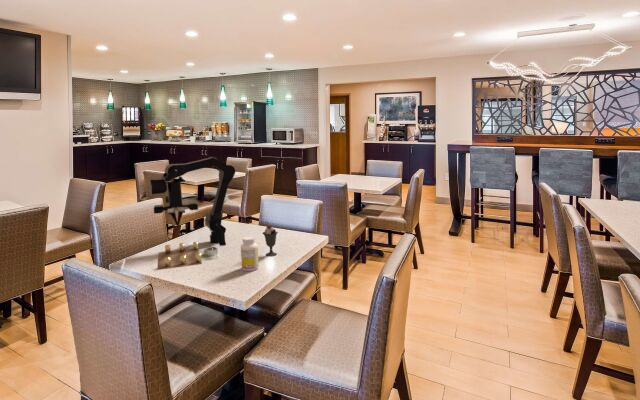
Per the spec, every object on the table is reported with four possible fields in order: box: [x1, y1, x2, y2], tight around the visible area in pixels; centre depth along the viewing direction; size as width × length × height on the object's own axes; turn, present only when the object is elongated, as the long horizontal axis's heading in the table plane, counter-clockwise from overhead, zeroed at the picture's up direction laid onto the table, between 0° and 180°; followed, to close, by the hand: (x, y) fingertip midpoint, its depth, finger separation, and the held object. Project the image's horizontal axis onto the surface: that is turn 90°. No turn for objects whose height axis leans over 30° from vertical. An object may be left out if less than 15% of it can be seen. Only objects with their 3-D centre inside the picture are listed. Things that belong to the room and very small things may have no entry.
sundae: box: [262, 221, 279, 257], centre depth 177 cm, size 7×7×15 cm
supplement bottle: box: [240, 235, 260, 272], centre depth 160 cm, size 7×7×13 cm
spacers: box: [164, 241, 203, 267], centre depth 173 cm, size 14×20×4 cm
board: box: [157, 247, 219, 271], centre depth 174 cm, size 24×24×1 cm
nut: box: [204, 246, 219, 256], centre depth 176 cm, size 6×5×3 cm
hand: (177, 225), depth 184 cm, fingers closed
